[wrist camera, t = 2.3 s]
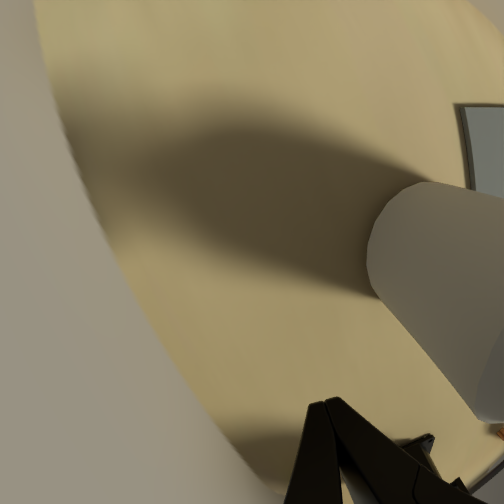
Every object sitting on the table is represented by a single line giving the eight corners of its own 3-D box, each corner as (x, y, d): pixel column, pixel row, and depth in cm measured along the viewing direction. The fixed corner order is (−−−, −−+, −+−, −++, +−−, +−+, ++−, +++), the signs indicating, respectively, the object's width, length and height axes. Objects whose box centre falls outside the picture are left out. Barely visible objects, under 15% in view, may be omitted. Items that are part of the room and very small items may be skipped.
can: (337, 220, 15) (512, 364, 4) (443, 157, 14) (631, 196, 3) (384, 326, 17) (490, 479, 6) (473, 264, 16) (605, 357, 5)
